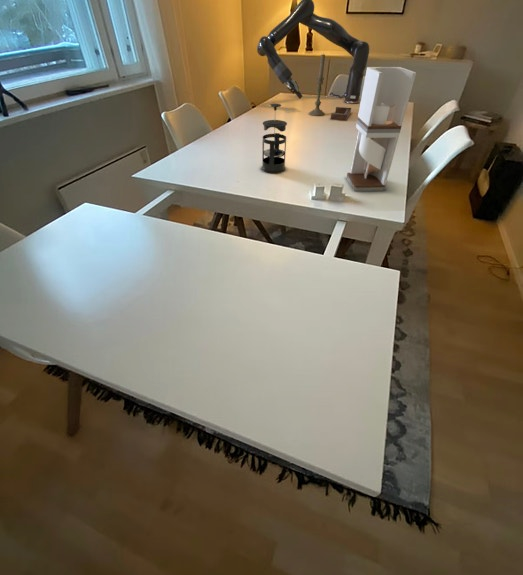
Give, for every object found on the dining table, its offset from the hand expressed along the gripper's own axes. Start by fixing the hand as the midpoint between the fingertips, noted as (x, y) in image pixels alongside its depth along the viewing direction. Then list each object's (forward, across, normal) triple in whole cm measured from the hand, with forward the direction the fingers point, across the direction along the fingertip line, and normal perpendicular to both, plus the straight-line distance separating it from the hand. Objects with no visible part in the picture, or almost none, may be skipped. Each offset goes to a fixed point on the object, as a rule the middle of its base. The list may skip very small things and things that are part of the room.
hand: (301, 97), depth 190 cm
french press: (+15, +91, +3) cm, 93 cm away
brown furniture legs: (+23, 0, +12) cm, 26 cm away
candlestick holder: (+13, 0, +2) cm, 13 cm away
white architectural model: (+40, +94, +29) cm, 106 cm away
